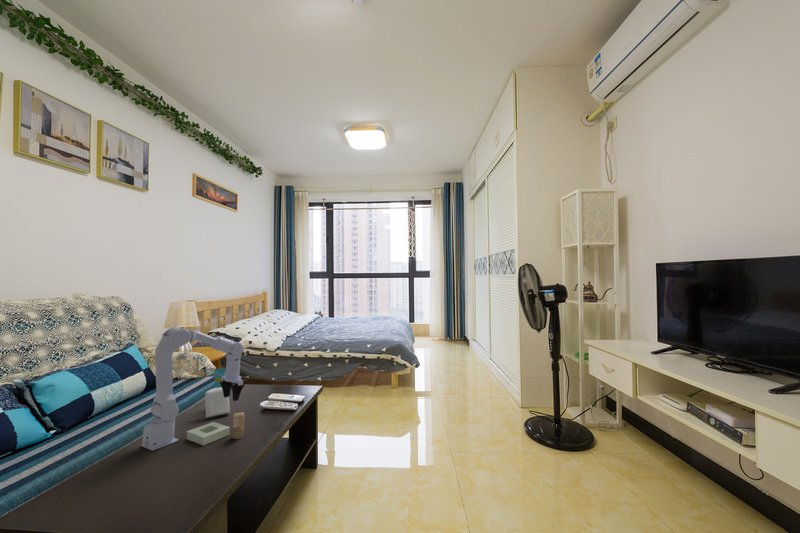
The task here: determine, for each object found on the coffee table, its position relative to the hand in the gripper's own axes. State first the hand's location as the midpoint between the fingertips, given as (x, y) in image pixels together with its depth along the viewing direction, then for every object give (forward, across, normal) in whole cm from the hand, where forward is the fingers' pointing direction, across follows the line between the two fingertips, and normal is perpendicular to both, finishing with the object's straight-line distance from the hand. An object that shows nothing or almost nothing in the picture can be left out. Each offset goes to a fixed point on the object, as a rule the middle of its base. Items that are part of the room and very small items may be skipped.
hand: (231, 398), depth 150 cm
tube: (+10, +22, -7) cm, 25 cm away
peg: (+10, -18, +6) cm, 21 cm away
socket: (+10, -8, +13) cm, 19 cm away
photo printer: (+9, +9, 0) cm, 13 cm away
